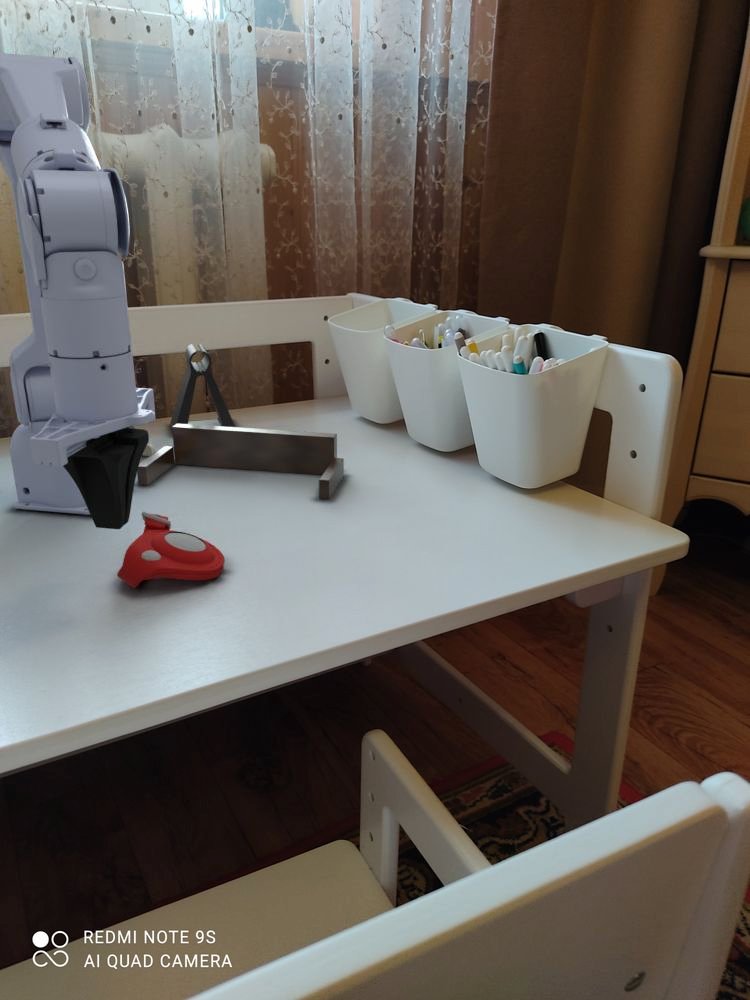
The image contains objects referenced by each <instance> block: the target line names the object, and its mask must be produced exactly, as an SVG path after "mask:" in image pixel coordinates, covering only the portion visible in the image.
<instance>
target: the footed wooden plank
mask: <svg viewBox="0 0 750 1000" xmlns="http://www.w3.org/2000/svg"><path fill="white" fill-rule="evenodd" d="M171 432H172V433H171V434H172V444H173V446H169V445H164V446H162V447H161V448H159V449H157V451H156V452H154V454H153V455H151V456H148V457H147V458H146V459H144V460H143V461H142V462H140V463H139V466H138V469H137V473H136V477H137V484H138V486H149V485H150V484H152V483H154V481H155V480H157V479H158V478H159V477H161V476H162V475H163V474H165V472H167V471H168V470H170V469H171V468H172V467H173V466H174V465H180V466H181V465H183V466H194V467H195V466H196V467H209V468H223V469H237V470H249V471H265V472H279V473H293V474H305V475H306V474H307V475H320V477H319V478H318V499H319V500H326V501H327V500H330V499H331V498H332V497H333V494H334V493H335V491H336V489H337V488H338V486H339V485H340V483H341V481H342V480H343V478H344V476H345V475H344V474H345V472H344V471H345V468H344V467H345V466H344V465H345V461H344V458H343V457H338V433H332V432H317V431H316V432H314V431H301V430H300V431H299V430H285V429H271V428H270V429H268V428H256V427H255V428H254V427H239V426H238V427H237V426H235V427H223V426H208V425H192V424H176V425H174V426H173V427H171Z"/></svg>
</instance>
